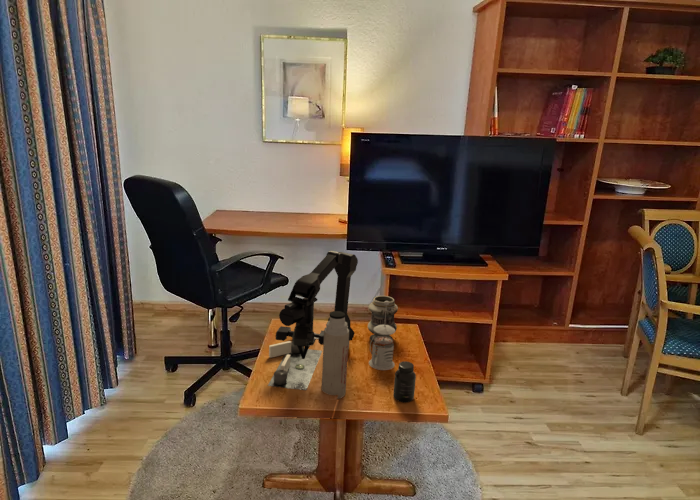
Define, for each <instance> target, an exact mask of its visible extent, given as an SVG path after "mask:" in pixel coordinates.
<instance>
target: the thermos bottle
mask: <svg viewBox="0 0 700 500" xmlns="http://www.w3.org/2000/svg"><path fill="white" fill-rule="evenodd" d="M329 317H330V321H328V320H327V321H326V324H325V326H326V327H324V329H323V331H324V345H322V346H323V348H322V349H323V350H322V373H321V391H322V392H323V393H325V394H327V395H330V396H337V397H336V400H338V399H341V398H343V397H345V395H346V391H347V390H346V389H347V375H348V358H349V357H348V355H349V349H348V343H349V344H350V341H349V329H348V326H347V322H345V313H343V312H340V311H330V313H329Z"/></svg>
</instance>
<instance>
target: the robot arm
mask: <svg viewBox="0 0 700 500" xmlns="http://www.w3.org/2000/svg"><path fill="white" fill-rule="evenodd" d="M358 263H359V259H358V257H357V256H356V254H353V253H349V252H343V251H336V250H328V252H327V253H326V255H325V257H323V259H322V260H321V261H320V262H319V263H318V264H317V265H316V266H315V267H314V269H313V270H311V271H310V272H309V273H308V274H303V276H301V277H299V278H298V279H296V281H295V282H294V285H293V287H292V289H291V292H290V294H289V296H288V299H287V301H288V302H290V303H286V304H284V308H282V309H281V310H280V312H279V314H278V317H279V320H280V322H281V324H283V325H284V326H283V325H281V326H279V327H278V329H277V331H276V332H275V340H276V341H283V342H285V341H286V340H287V338H288V337H290V338H291V339H292V341H291V342H292V343H293V345H297V347H298V349H299V351H300V354H301V357H302V359H305V357H306V354H307V351H308V349H309V348H310V347H311V346H314V344H315V343H316V341H317V340H318V343H319V344H320V346H323V345H324V330H320V333H316V332H314V317H315V316H314V315H315V314H314V313H315V310H314V309H315V302H317V301H318V298H317V295H318V294H319V292H320V291H321V284H322V283H323V281H324V280H326V278H327V277H328V275H330V274H331V272H332V271H333V270H334V272H335V273H336V275H337V281H336V282H337V283H336V288H335V300H334V301H335V302H334V308H333V309H334V311H340V312H343V313H345V322H347V326H348V329H349V343H348V350H349V349H350V341H353V339H354V336H355V331H354V330H353V328H352V327H351V319H350V317H349V315H348V308H349V307H348V306H349V297H350V287H351V278H352V276H353V274H354V273H355V272H356V270H357V267H358ZM297 296H298V297H297ZM328 321H330V316H329V317H328V319H327V322H328ZM294 324H295V326H294V329H293V330H292V328H291V327H290V326H292V325H294Z"/></svg>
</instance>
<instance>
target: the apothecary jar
mask: <svg viewBox="0 0 700 500" xmlns="http://www.w3.org/2000/svg"><path fill="white" fill-rule="evenodd" d="M385 301H388V302H389V305H387V308H386V305H385V304H384V302H385ZM398 308H399V307H398V305H397V304H396V303H395V299H394V298H393V297H391V296H388V295H376V296H375V297H373V301H371V303H369V305H368V309H369V311H370V312H371V315H370V316H371V317H370V321H369V322H368V323H367V329H368V331H369V332H370V333H372V334H371V335H369V340H370V341H371V340H372V338H373V337H374V336H376V337H377V336H387V337H390V338H392V339H393V336H391V335H380V334H377V333H375V332H374V330H373V329H374V327H376V326H378V325H389V326H391V327H393V328H394V329H395V332H396V331H397V328H398V326H397V324H396V322H395V314H396V313H397V312H398V310H399V309H398ZM385 313H386V320H385ZM374 338H375V337H374ZM374 338H373V340H372V342H371V343H373V342H374ZM393 340H394V339H393Z"/></svg>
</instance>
